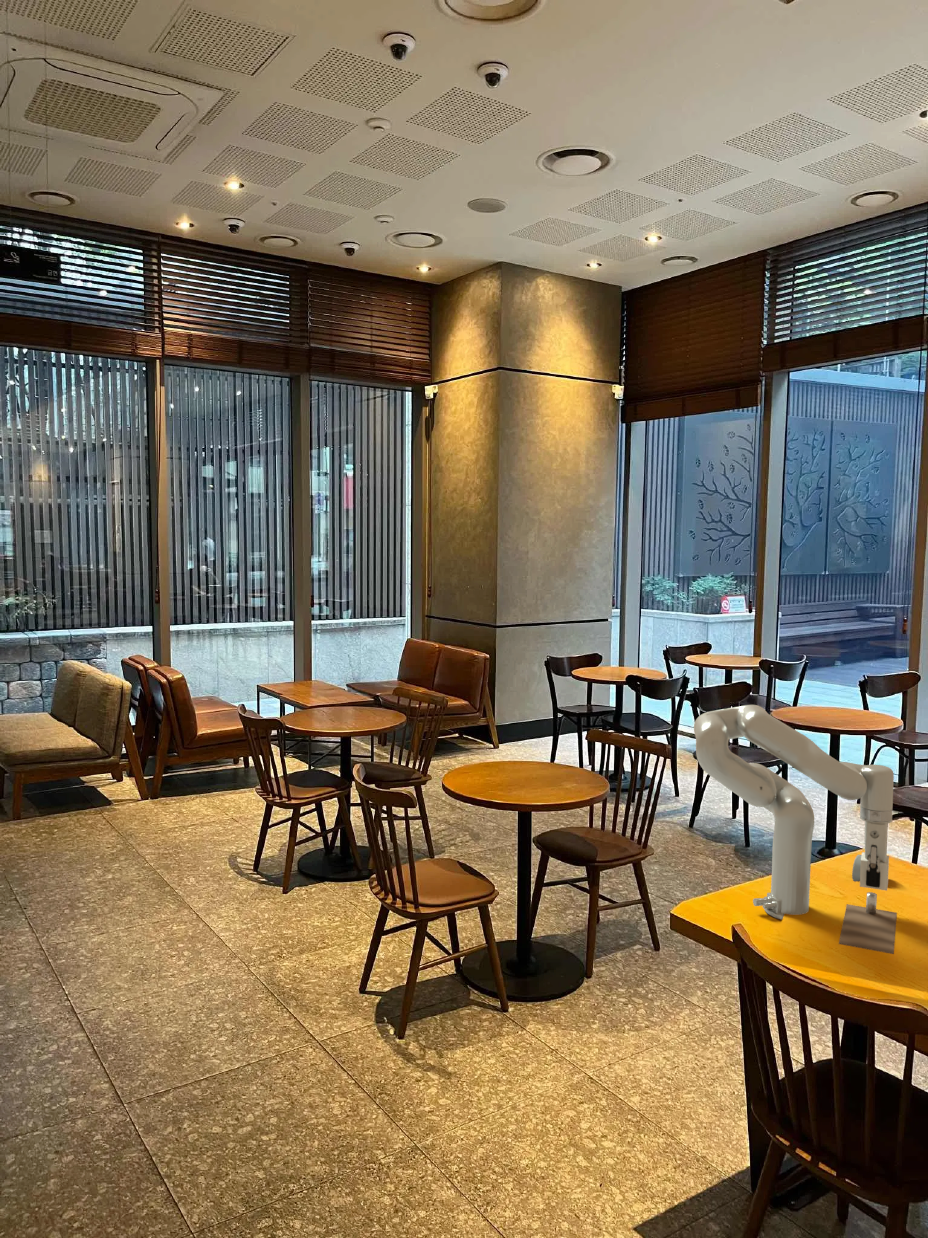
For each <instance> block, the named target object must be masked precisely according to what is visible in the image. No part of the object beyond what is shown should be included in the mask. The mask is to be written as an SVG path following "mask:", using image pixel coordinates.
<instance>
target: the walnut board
mask: <svg viewBox="0 0 928 1238" xmlns="http://www.w3.org/2000/svg"><path fill="white" fill-rule="evenodd" d="M897 914H898V912H895V911H889V910H883V909H877V908H876V914H874V915H872V914H868V913H866V906H859V905H854V904H846V906H845V911H844V916H843V921H842V925H841V931H840V936H839V941H838V945H843V946H848V947H849V946H850V947H854V948H859V949H865V950H871V951H875V952H881V953H886V954H891V955H894V954H895V952H894V951H895V943H896V942H895V940H896V929H897V928H896V927H897Z"/></svg>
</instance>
